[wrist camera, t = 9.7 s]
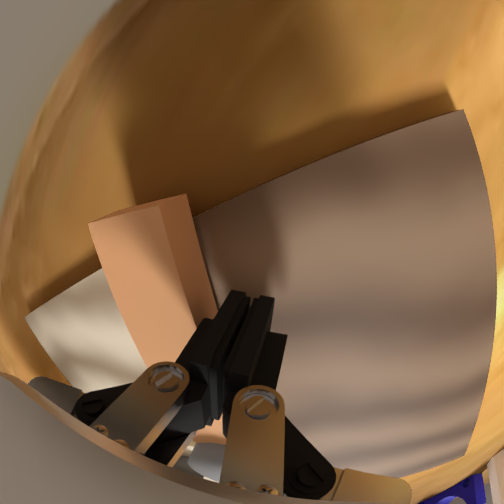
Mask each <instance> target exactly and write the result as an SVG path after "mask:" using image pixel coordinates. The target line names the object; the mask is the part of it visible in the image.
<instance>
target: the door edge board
mask: <svg viewBox="0 0 504 504" xmlns="http://www.w3.org/2000/svg"><path fill="white" fill-rule="evenodd" d="M193 222H194V226H195V230H196V234H197V238H198V242H199V246H200V249H201V253H202V257H203V260H204V264H205V268H206V271H207V275H208V278H209V282H210V286H211V289H212V292H213V296H214V299H215V303H216V306H217V309H218V311H219V309H220V307H221V306H222V304H223V302H224V301H225V299H226V297H227V296H228V294H229V292H230V291H231V290H237V291H242V292H246V296H248V297H251V301H250V306H251V304H252V302H253V299H254V298H259V297H260V295H263V296H269V297H274V298H275V302H274V309H273V316H272V323H271V330H270V332H275V333H281V334H286V335H288V336H287V341H286V346H285V351H284V356H283V360H282V365H281V370H280V374H279V378H278V383H277V387H276V391H277V392H278V393H279V394H280V395H281V396H282V398H283V400H284V404H285V416H286V417H287V418H288V419H289V420H290V421H291V423H292V424H293V425H294V426H295V427H296V428H297V429H298V430H299V431H300V432H301V433H302V434H303V436H304V437H305V438H306V439H307V440H308V441H309V442H310V443H311V444H312V445H313V446H314V447H315V448H316V449H317V450H318V451H319V452H320V453H321V454H322V455H323V456H324V457H325V458H326V459H327V460H328V461H329V462H330V463H331V465H332V466H333V467H335V468H339V469H343V470H344V469H345V468H348V469H353V470H357V471H362V472H366V473H371V474H376V475H382V476H388V477H394V478H401V477H404V476H408V475H411V474H415V473H418V472H421V471H424V470H428V469H431V468H433V467H436V466H439V465H442V464H444V463H447V462H450V461H452V460H455V459H457V458H459V457H462V456H464V455H465V452H466V450H467V447H468V445H469V442H470V439H471V436H472V433H473V430H474V427H475V424H476V421H477V418H478V414H479V411H480V407H481V404H482V400H483V396H484V392H485V387H486V383H487V378H488V373H489V367H490V362H491V355H492V348H493V340H494V331H495V319H496V299H497V272H496V252H495V240H494V230H493V222H492V215H491V209H490V203H489V197H488V192H487V187H486V182H485V178H484V174H483V170H482V166H481V162H480V158H479V154H478V151H477V148H476V144H475V141H474V138H473V135H472V132H471V129H470V126H469V123H468V121H467V118H466V115H465V113H464V110H457V111H452V112H449V113H445V114H442V115H439V116H436V117H433V118H430V119H426V120H423V121H420V122H417V123H414V124H411V125H408V126H405V127H403V128H400V129H397V130H394V131H391V132H388V133H386V134H383V135H380V136H377V137H375V138H372V139H369V140H367V141H364V142H361V143H359V144H356V145H354V146H351V147H348V148H346V149H343V150H341V151H338V152H336V153H333V154H331V155H328V156H326V157H323V158H321V159H319V160H316V161H314V162H311V163H309V164H307V165H304V166H302V167H300V168H297V169H295V170H293V171H290V172H288V173H286V174H284V175H281V176H279V177H277V178H275V179H272V180H270V181H268V182H266V183H263V184H261V185H259V186H257V187H255V188H253V189H250V190H248V191H246V192H244V193H242V194H240V195H238V196H236V197H233V198H231V199H229V200H227V201H225V202H223V203H221V204H219V205H217V206H215V207H213V208H211V209H209V210H207V211H205V212H203V213H201V214H199V215H197V216H195V217H193ZM24 318H25V320H26V322H27V323H28V325H29V327H30V328H31V330H32V331H33V333H34V335H35V336H36V338H37V339H38V341H39V342H40V344H41V345H42V347H43V348H44V349H45V351H46V352H47V354H48V355H49V357H50V358H51V359H52V361H53V362H54V363H55V365H56V366H57V367H58V369H59V370H60V371H61V372H62V374H63V375H64V376H65V378H66V379H67V380H68V381H69V382H70V384H71V385H72V386H73V387H75V388H78V389H81V390H83V392H84V393H88V392H91V391H96V390H101V389H106V388H111V387H115V386H120V385H124V384H129V383H133V382H134V381H135V380H136V379H137V378H138V377H139V376H140V375H141V374H142V373H143V372H144V371H145V370H146V369H147V366H146V364H145V363H144V361H143V359H142V357H141V355H140V353H139V351H138V349H137V347H136V345H135V343H134V341H133V339H132V337H131V335H130V333H129V331H128V329H127V326H126V324H125V322H124V320H123V318H122V315H121V313H120V311H119V309H118V306H117V304H116V302H115V299H114V297H113V294H112V292H111V289H110V287H109V284H108V282H107V279H106V276H105V274H104V271H103V268H100V269H98V270H97V271H95V272H93V273H92V274H90V275H88V276H87V277H85V278H83V279H82V280H80V281H79V282H77V283H75V284H74V285H72V286H71V287H69V288H67V289H66V290H64V291H63V292H61V293H59V294H58V295H56V296H55V297H53V298H52V299H50V300H49V301H47V302H46V303H44V304H43V305H41V306H40V307H38V308H37V309H35V310H34V311H32V312H31V313H29V314H28V315H27V316H25V317H24ZM195 444H196V442H194V441H193V440H192V441H191V442H190V444H189V445H188V446H187V448H186V449H185V451H184V452H183V453H182V455H181V456H180V458H179V459H178V460H177V462H176V463H175V464H174V466H173V467H172V468H174V469H177V470H180V471H183V472H185V473H188V474H191V475H194V476H197V477H200V478H203V479H207V480H210V481H213V482H217V481H214V480H212V479H209V478H207V477H205V476H203V475H201V474H199V473H197V472H196V471H195V470H193V469H192V468H191V467H190V466H189V464H188V459H189V457H190V455H191V453H192V450H193V448H194V446H195ZM217 483H219V482H217Z"/></svg>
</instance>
